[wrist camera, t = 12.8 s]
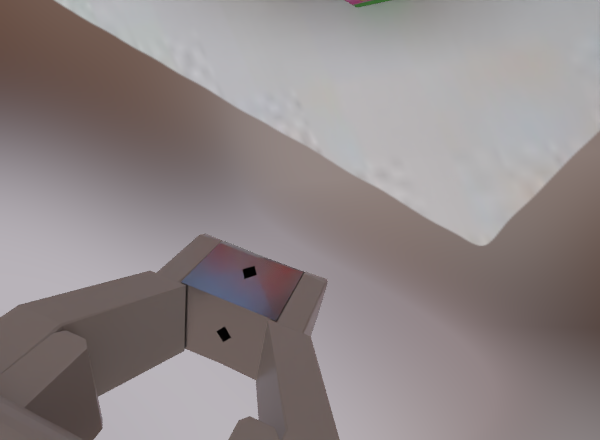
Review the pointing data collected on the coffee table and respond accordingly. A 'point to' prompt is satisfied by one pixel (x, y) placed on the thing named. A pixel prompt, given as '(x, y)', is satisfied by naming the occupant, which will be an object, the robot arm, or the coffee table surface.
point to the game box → (364, 2)
